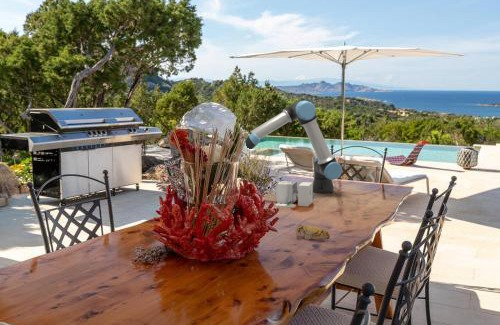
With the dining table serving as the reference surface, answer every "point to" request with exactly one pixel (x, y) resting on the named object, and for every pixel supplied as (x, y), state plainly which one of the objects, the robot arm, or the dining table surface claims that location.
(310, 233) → the crab model
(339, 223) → the dining table surface
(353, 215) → the dining table surface
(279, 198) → the candle holder
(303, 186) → the gauge housing
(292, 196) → the gauge plunger
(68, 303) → the dining table surface
